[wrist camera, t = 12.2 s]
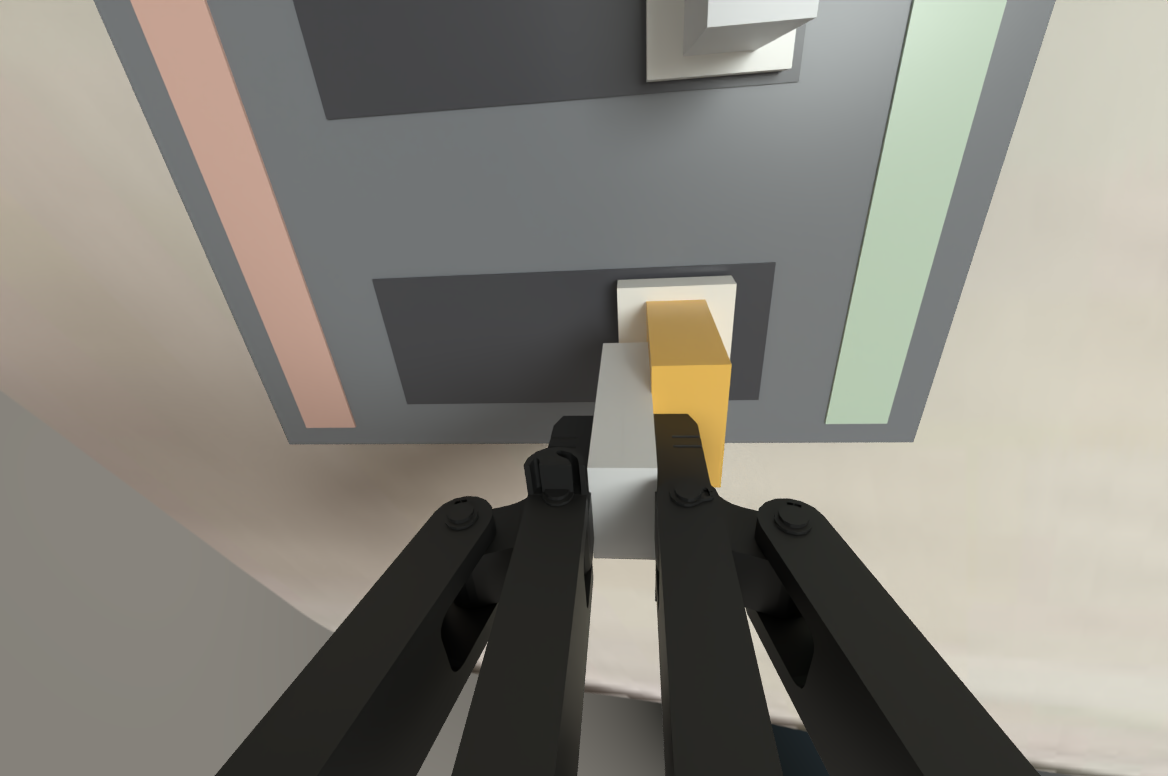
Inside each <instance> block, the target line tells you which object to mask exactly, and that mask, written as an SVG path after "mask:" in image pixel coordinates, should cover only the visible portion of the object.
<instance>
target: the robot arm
mask: <svg viewBox="0 0 1168 776" xmlns="http://www.w3.org/2000/svg"><path fill="white" fill-rule="evenodd" d="M524 470H525V477H526V483H527V490H528V497H527V498H526V499H524V500H522V501H520V502H518V503H515V504H512V505H509V506H504V507H500V508H496V509H492V506H491V505H490V504H489V503H488V502H487V501H486V500H484V499H482V498H479V497H472V496H465V497H461V498H456V499H453V500H451V501H449V502H447V503H445V504H443V505H442V506H441V507H440V508H439V509H438V510H437V511H435V513H434V514H433V515H432V516H431V517H430V519H429V520H428V521H427V522H426V523H425V525H424V526H423V527H422V528H421V529H420V531H419V532H418V533H417V534H416V535H415V537H414V538H413V539H412V540H411V541H410V542H409V544H408V545H407V546H406V547H405V548H404V550H403V551H402V552H401V553H400V554H399V556H398V557H397V558H396V559H395V560H394V562H393V563H392V564H391V565H390V566H389V568H388V569H387V570H386V571H385V572H384V574H383V575H382V576H381V577H380V578H379V580H378V581H377V582H376V583H375V584H374V586H373V587H372V588H371V589H370V590H369V592H368V593H367V594H366V595H365V596H364V598H363V599H362V600H361V601H360V602H359V604H358V605H357V606H356V607H355V608H354V610H353V611H352V612H351V613H350V614H349V616H348V617H347V618H346V619H345V620H344V622H343V623H342V624H341V625H340V626H339V628H338V629H337V630H336V631H335V632H334V634H333V635H332V636H331V637H330V638H329V640H328V641H327V642H326V643H325V644H324V646H323V647H322V648H321V649H320V650H319V652H318V653H317V654H316V655H315V656H314V657H313V659H312V660H311V661H310V662H309V664H308V665H307V666H306V667H305V668H304V669H303V671H302V672H301V673H300V674H299V676H298V677H297V678H296V679H295V680H294V681H293V683H292V684H291V685H290V686H289V687H288V689H287V690H286V691H285V692H284V693H283V695H282V696H281V697H280V698H279V700H278V701H277V702H276V703H275V704H274V706H273V707H272V708H271V709H270V710H269V711H268V713H267V714H266V715H265V716H264V717H263V719H262V720H261V721H260V722H259V723H258V725H257V726H256V727H255V728H254V729H253V731H252V732H251V733H250V734H249V735H248V737H247V738H246V739H245V740H244V741H243V743H242V744H241V745H240V746H239V747H238V749H237V750H236V751H235V752H234V753H233V754H232V756H231V757H230V758H229V759H228V761H227V762H226V763H225V764H224V765H223V766H222V768H221V769H220V770H219V771H218V773H217V774H216V775H215V776H416V775H417V773H418V772H419V770H420V768H421V766H422V764H423V762H424V760H425V758H426V757H427V755H428V753H429V751H430V749H431V747H432V745H433V743H434V741H435V740H436V738H437V736H438V734H439V732H440V730H441V728H442V726H443V724H444V723H445V721H446V719H447V717H448V715H449V713H450V711H451V709H452V708H453V706H454V704H455V702H456V700H457V698H458V696H459V695H460V693H461V691H462V689H463V687H464V685H465V683H466V681H467V679H468V677H469V676H470V674H471V672H472V670H473V668H474V666H475V664H476V663H477V661H478V659H479V657H480V655H481V653H482V651H483V649H484V648H485V646H486V644H487V642H488V644H487V647H486V651H485V655H484V658H483V662H482V666H481V669H480V673H479V677H478V680H477V684H476V688H475V691H474V695H473V698H472V702H471V706H470V709H469V713H468V717H467V720H466V724H465V728H464V731H463V735H462V739H461V743H460V746H459V750H458V754H457V757H456V761H455V765H454V768H453V772H452V775H451V776H577V772H578V760H579V747H580V735H581V723H582V710H583V698H584V686H585V674H586V662H587V649H588V637H589V625H590V612H591V600H592V588H593V566H592V559H593V553H594V558H611V559H650V560H656V587H655V601H657V617H658V638H659V658H660V678H661V699H662V718H663V739H664V759H665V776H783V773H782V769H781V765H780V760H779V756H778V752H777V747H776V743H775V738H774V734H773V730H772V725H771V721H770V716H769V712H768V708H767V703H766V699H765V695H764V690H763V686H762V681H761V677H760V673H759V668H758V664H757V660H756V655H755V651H754V646H753V642H752V638H751V633H750V629H749V625H748V620H747V616H746V611H747V614H748V616H749V618H750V620H751V622H752V624H753V626H754V628H755V630H756V632H757V634H758V636H759V638H760V639H761V641H762V643H763V645H764V647H765V649H766V651H767V653H768V655H769V657H770V659H771V661H772V663H773V665H774V667H775V669H776V671H777V673H778V675H779V677H780V679H781V681H782V683H783V685H784V687H785V689H786V691H787V693H788V695H789V696H790V698H791V700H792V702H793V704H794V706H795V708H796V710H797V712H798V714H799V716H800V718H801V720H802V722H803V724H804V726H805V728H806V730H807V732H808V734H809V736H810V737H811V740H812V742H813V744H814V746H815V748H816V750H817V751H818V753H819V755H820V757H821V759H822V761H823V763H824V765H825V767H826V769H827V771H828V773H829V775H830V776H1040V775H1039V773H1038V772H1037V771H1036V770H1035V769H1034V767H1033V766H1032V765H1031V764H1030V763H1029V761H1028V760H1027V759H1026V758H1025V757H1024V755H1023V754H1022V753H1021V752H1020V751H1019V749H1018V748H1017V747H1016V746H1015V745H1014V743H1013V742H1012V741H1011V740H1010V739H1009V737H1008V736H1007V735H1006V734H1005V733H1004V731H1003V730H1002V729H1001V728H1000V727H999V725H998V724H997V723H996V722H995V721H994V719H993V718H992V717H991V716H990V715H989V713H988V712H987V711H986V710H985V709H984V707H983V706H982V705H981V704H980V703H979V701H978V700H977V699H976V698H975V697H974V695H973V694H972V693H971V692H970V691H969V689H968V688H967V687H966V686H965V685H964V683H963V682H962V681H961V680H960V679H959V677H958V676H957V675H956V674H955V673H954V671H953V670H952V669H951V668H950V667H949V665H948V664H947V663H946V662H945V661H944V659H943V658H942V657H941V656H940V655H939V653H938V652H937V651H936V650H935V649H934V647H933V646H932V645H931V644H930V643H929V642H928V640H927V639H926V638H925V637H924V636H923V634H922V633H921V632H920V631H919V630H918V628H917V627H916V626H915V625H914V624H913V622H912V621H911V620H910V619H909V618H908V616H907V615H906V614H905V613H904V612H903V610H902V609H901V608H900V607H899V606H898V604H897V603H896V602H895V601H894V600H893V598H892V597H891V596H890V595H889V594H888V592H887V591H886V590H885V589H884V588H883V586H882V585H881V584H880V583H879V582H878V580H877V579H876V578H875V577H874V576H873V574H872V573H871V572H870V571H869V570H868V568H867V567H866V566H865V565H864V564H863V562H862V561H861V560H860V559H859V558H858V556H857V555H856V554H855V553H854V552H853V550H852V549H851V548H850V547H849V546H848V544H847V543H846V542H845V541H844V540H843V538H842V537H841V536H840V535H839V534H838V532H837V531H836V530H835V529H834V528H833V526H832V525H831V524H830V523H829V522H828V520H827V519H826V518H825V517H824V516H823V515H822V514H821V513H820V512H819V511H817V510H816V509H815V508H814V507H812V506H810V505H808V504H806V503H804V502H801V501H797V500H793V499H774V500H771V501H768V502H765V503H764V504H763V505H762V506H761V507H760V508H759V511H755V510H751V509H747V508H743V507H740V506H737V505H734V504H731V503H729V502H728V501H726V500H724V499H723V498H721V497H720V496H719V495H718V493H717V491H716V489H715V488H714V487H713V486H711V483H710V479H709V474H708V470H707V465H706V461H705V456H704V451H703V448H702V442H701V438H700V433H699V428H698V424H697V423H696V422H695V421H694V420H693V419H692V418H691V417H690V416H689V414H653V402H652V394H651V380H650V366H649V352H648V342H639V343H603V349H602V356H601V364H600V372H599V380H598V388H597V395H596V403H595V411H594V416H563V417H562V418H561V419H560V420H559V421H558V422H557V423H556V424H555V425H554V426H553V430H552V434H551V439H550V442H549V446H548V448H546V449H543V450H540V451H538V452H536V453H534V454H533V455H531V456H530V457H529V458H528V459H527V461H526V462H525V464H524ZM745 607H746V611H745Z"/></svg>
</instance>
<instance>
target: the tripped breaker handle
mask: <svg viewBox="0 0 1168 776" xmlns="http://www.w3.org/2000/svg"><path fill="white" fill-rule="evenodd" d="M736 286H737V284H736V282H735V280H734V279H733V277H732V276H731V275H730V276H705V277H680V278H654V279H629V280H618V283H617V303H618V333H619V343H639V342H648V352H649V366H650V380H651V394H652V402H653V414H689V416H690V417H691V418H692V419H693V420H694V421H695V422H696V423H697V424H698V428H699V433H700V438H701V442H702V448H703V451H704V456H705V461H706V465H707V470H708V474H709V479H710V483H711V486H713V487H721V476H722V465H723V454H724V443H725V432H726V422H727V411H728V400H729V389H730V378H731V367H732V364H731V361H730V354H731V343H732V331H733V320H734V309H735V298H736Z"/></svg>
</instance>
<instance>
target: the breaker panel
mask: <svg viewBox="0 0 1168 776" xmlns="http://www.w3.org/2000/svg"><path fill="white" fill-rule="evenodd" d="M1055 1H1056V0H94V2H95V5H96V7H97V9H98V11H99V14H100V16H101V18H102V20H103V23H104V25H105V27H106V29H107V32H108V34H109V36H110V39H111V41H112V43H113V45H114V48H115V50H116V52H117V54H118V57H119V59H120V61H121V63H122V66H123V68H124V70H125V72H126V75H127V77H128V79H129V82H130V84H131V86H132V88H133V91H134V93H135V95H136V97H137V100H138V102H139V104H140V106H141V109H142V111H143V113H144V116H145V118H146V120H147V122H148V125H149V127H150V129H151V131H152V134H153V136H154V138H155V140H156V143H157V145H158V147H159V149H160V152H161V154H162V156H163V159H164V161H165V163H166V165H167V168H168V170H169V172H170V174H171V177H172V179H173V181H174V183H175V186H176V188H177V190H178V193H179V195H180V197H181V199H182V202H183V204H184V206H185V208H186V211H187V213H188V215H189V217H190V220H191V222H192V224H193V227H194V229H195V231H196V233H197V236H198V238H199V240H200V242H201V245H202V247H203V249H204V251H205V254H206V256H207V258H208V260H209V263H210V265H211V267H212V270H213V272H214V274H215V276H216V279H217V281H218V283H219V285H220V288H221V290H222V292H223V294H224V297H225V299H226V301H227V304H228V306H229V308H230V310H231V313H232V315H233V317H234V319H235V322H236V324H237V326H238V328H239V331H240V333H241V335H242V337H243V340H244V342H245V344H246V347H247V349H248V351H249V353H250V356H251V358H252V360H253V362H254V365H255V367H256V369H257V371H258V374H259V376H260V378H261V381H262V383H263V385H264V387H265V390H266V392H267V394H268V396H269V399H270V401H271V403H272V405H273V408H274V410H275V412H276V414H277V417H278V419H279V421H280V424H281V426H282V428H283V430H284V433H285V435H286V437H287V439H288V442H289V444H524V443H549V442H550V439H551V434H552V430H553V426H554V425H555V424H556V423H557V422H558V421H559V420H560V419H561V418H562V417H563V416H594V411H595V403H596V395H597V388H598V380H599V372H600V364H601V356H602V349H603V343H619V333H618V303H617V283H618V280H629V279H654V278H680V277H705V276H730V275H731V276H732V277H733V279H734V280H735V282H736V284H737V286H736V298H735V309H734V320H733V331H732V343H731V354H730V361H731V364H732V367H731V378H730V389H729V400H728V411H727V422H726V432H725V443H814V442H914V438H915V435H916V432H917V429H918V426H919V423H920V420H921V417H922V414H923V410H924V407H925V404H926V401H927V398H928V395H929V392H930V389H931V386H932V383H933V379H934V376H935V373H936V370H937V367H938V364H939V361H940V358H941V355H942V352H943V348H944V345H945V342H946V339H947V336H948V333H949V330H950V327H951V324H952V320H953V317H954V314H955V311H956V308H957V305H958V302H959V299H960V296H961V293H962V289H963V286H964V283H965V280H966V277H967V274H968V271H969V268H970V265H971V262H972V258H973V255H974V252H975V249H976V246H977V243H978V240H979V237H980V234H981V231H982V227H983V224H984V221H985V218H986V215H987V212H988V209H989V206H990V203H991V199H992V196H993V193H994V190H995V187H996V184H997V181H998V178H999V175H1000V172H1001V168H1002V165H1003V162H1004V159H1005V156H1006V153H1007V150H1008V147H1009V144H1010V141H1011V137H1012V134H1013V131H1014V128H1015V125H1016V122H1017V119H1018V116H1019V113H1020V109H1021V106H1022V103H1023V100H1024V97H1025V94H1026V91H1027V88H1028V85H1029V82H1030V78H1031V75H1032V72H1033V69H1034V66H1035V63H1036V60H1037V57H1038V54H1039V51H1040V47H1041V44H1042V41H1043V38H1044V35H1045V32H1046V29H1047V26H1048V23H1049V19H1050V16H1051V13H1052V10H1053V7H1054V4H1055Z"/></svg>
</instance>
